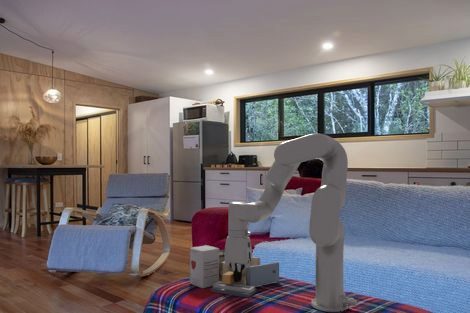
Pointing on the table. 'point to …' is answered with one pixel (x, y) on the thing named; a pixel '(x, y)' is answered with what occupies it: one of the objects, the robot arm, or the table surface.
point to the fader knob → (228, 278)
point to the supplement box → (204, 266)
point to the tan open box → (254, 262)
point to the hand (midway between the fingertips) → (237, 281)
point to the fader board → (233, 289)
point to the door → (262, 274)
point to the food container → (221, 258)
